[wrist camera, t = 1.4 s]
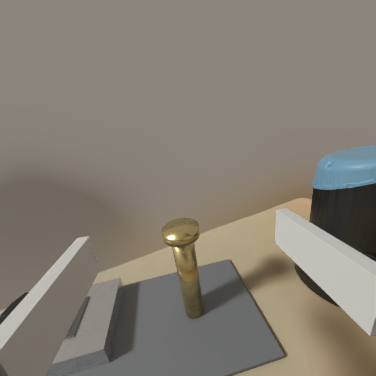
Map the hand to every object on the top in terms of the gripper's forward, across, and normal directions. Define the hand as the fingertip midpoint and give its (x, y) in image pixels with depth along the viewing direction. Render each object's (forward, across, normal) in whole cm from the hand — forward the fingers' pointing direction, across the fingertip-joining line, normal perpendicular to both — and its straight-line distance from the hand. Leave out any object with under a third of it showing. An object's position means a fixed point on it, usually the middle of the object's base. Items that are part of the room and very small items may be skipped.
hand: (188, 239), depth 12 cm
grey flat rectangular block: (+12, -21, -22) cm, 33 cm away
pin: (+12, 0, -21) cm, 24 cm away
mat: (+11, -9, -22) cm, 27 cm away
